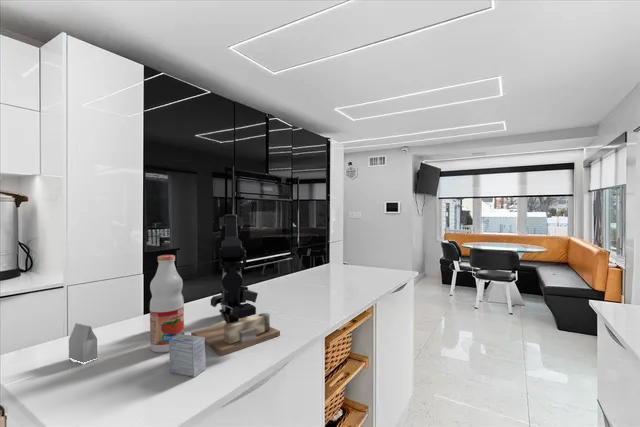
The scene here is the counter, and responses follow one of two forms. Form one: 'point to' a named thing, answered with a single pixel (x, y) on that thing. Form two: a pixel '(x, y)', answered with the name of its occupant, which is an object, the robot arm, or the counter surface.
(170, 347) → the medicine box
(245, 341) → the wooden board
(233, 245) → the robot arm
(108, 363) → the counter surface
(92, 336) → the grey milk carton
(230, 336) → the hinged leg
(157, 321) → the fruit juice
